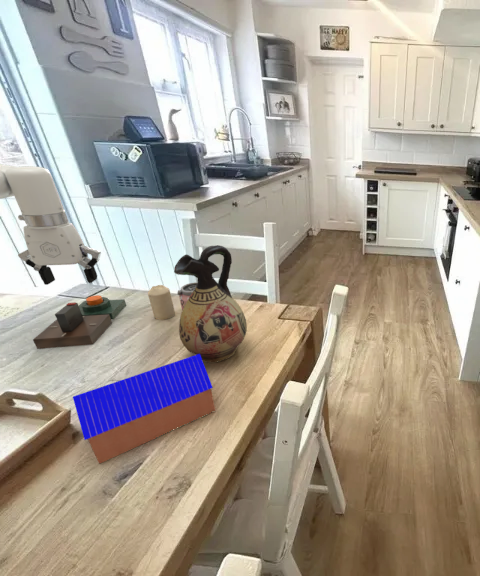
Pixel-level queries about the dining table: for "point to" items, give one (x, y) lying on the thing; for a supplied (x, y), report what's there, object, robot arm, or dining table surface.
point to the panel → (73, 333)
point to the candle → (161, 302)
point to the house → (144, 406)
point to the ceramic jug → (210, 309)
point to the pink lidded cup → (186, 293)
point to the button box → (103, 308)
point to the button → (94, 300)
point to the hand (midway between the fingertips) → (71, 281)
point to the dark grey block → (69, 317)
